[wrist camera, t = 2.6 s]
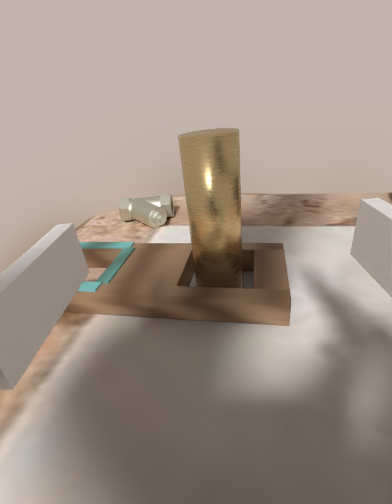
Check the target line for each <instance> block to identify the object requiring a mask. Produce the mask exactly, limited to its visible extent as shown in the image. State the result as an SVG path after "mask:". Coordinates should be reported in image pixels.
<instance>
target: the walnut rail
mask: <svg viewBox="0 0 392 504" xmlns="http://www.w3.org/2000/svg"><path fill="white" fill-rule="evenodd" d="M79 243H80V246H81V249H82V252H83V255H84V258H85V261H86V264H87V267H105V268H107V269H106V270H105V271H104V273H103V274H102V275H101V276H100V277H99V278H98V280H97V281H96V282H84V281H83V283H82V284H81V286H80V287H79V289H78V290H77V292H76V293H75V295H74V297H73V298H72V300H71V301H70V303H69V304H68V306H67V307H66V309H65V310H64V312H74V313H90V314H106V315H123V316H139V317H155V318H172V319H188V320H204V321H221V322H237V323H253V324H269V325H286V326H289V322H290V310H291V296H290V289H289V282H288V275H287V269H286V262H285V255H284V248H283V243H242V265H243V270H251V271H254V275H253V289H245V288H216V287H188V286H189V283H190V280H191V278H192V275H193V272H194V269H195V267H194V259H193V251H192V243H146V244H134V242H79Z"/></svg>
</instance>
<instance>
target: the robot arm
mask: <svg viewBox="0 0 392 504" xmlns="http://www.w3.org/2000/svg"><path fill="white" fill-rule="evenodd" d="M350 254H351V255H352V256H353V257H354V258H355V259H356V260H357V261H358V262H359V263H360V264H361V266H362V267H363V268H364V269H365V270H366V271H367V272H368V273H369V274H370V275H371V276H372V277H373V278H374V279H375V280H376V281H377V282H378V284H379V285H380V286H381V287H382V288H383V289H384V290H385V291H386V292H387V293H388V294H389V295H390V296H391V297H392V205H391V204H389V203H387V202H385V201H384V200H382V199H380V198H371V199H361V202H360V207H359V212H358V217H357V222H356V227H355V232H354V237H353V243H352V248H351V253H350ZM88 273H89V270H88V267H87V264H86V261H85V258H84V255H83V252H82V249H81V246H80V243H79V240H78V237H77V234H76V230H75V227H74V224H73V223H69V224H57V225H56V226H55V227H54V228H53V229H52V230H50V231H49V232H48V233H47V234H46V235H45V236H44V237H42V238H41V239H40V240H39V241H38V242H37V243H36V244H35V245H33V246H32V247H31V248H30V249H29V250H28V251H26V252H25V253H24V254H23V255H22V256H21V257H19V258H18V259H17V260H16V261H15V262H14V263H13V264H11V265H10V266H9V267H8V268H7V269H6V270H5V271H4V272H2V273H1V274H0V390H2V389H14V387H15V386H16V384H17V383H18V381H19V380H20V378H21V376H22V375H23V373H24V372H25V370H26V369H27V367H28V366H29V364H30V363H31V361H32V360H33V358H34V356H35V355H36V353H37V352H38V350H39V349H40V347H41V346H42V344H43V343H44V341H45V340H46V338H47V337H48V335H49V333H50V332H51V330H52V329H53V327H54V326H55V324H56V323H57V321H58V320H59V318H60V317H61V315H62V313H63V312H64V310H65V309H66V307H67V306H68V304H69V303H70V301H71V300H72V298H73V297H74V295H75V293H76V292H77V290H78V289H79V287H80V286H81V284H82V283H83V281H84V280H85V278H86V277H87V275H88Z"/></svg>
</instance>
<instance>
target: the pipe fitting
mask: <svg viewBox="0 0 392 504" xmlns="http://www.w3.org/2000/svg"><path fill="white" fill-rule="evenodd" d="M119 211H120V215H121V218H122V220H123V221H130V220H138V221H140V222H142V223H144V224H146V225H148V226H150V227H152V228H158V227H160V226H162V225H164V224H165V222H166V220H167V217H173V216H174V204H173V198H172V195H169V194H167V195H161V196H157V197H147V198H136V199H131V198H126V199H125V198H124V199H120V203H119Z"/></svg>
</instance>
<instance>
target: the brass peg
mask: <svg viewBox="0 0 392 504" xmlns="http://www.w3.org/2000/svg"><path fill="white" fill-rule="evenodd" d="M178 139H179V147H180V155H181V163H182V171H183V179H184V187H185V195H186V203H187V211H188V219H189V227H190V235H191V243H192V251H193V259H194V267H195V275H196V283H197V287H216V288H243V265H242V226H241V190H240V189H241V187H240V153H239V152H240V147H239V130H238V129H234V128H220V129H208V130H201V131H194V132H189V133H185V134H181V135H179V136H178Z"/></svg>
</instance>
